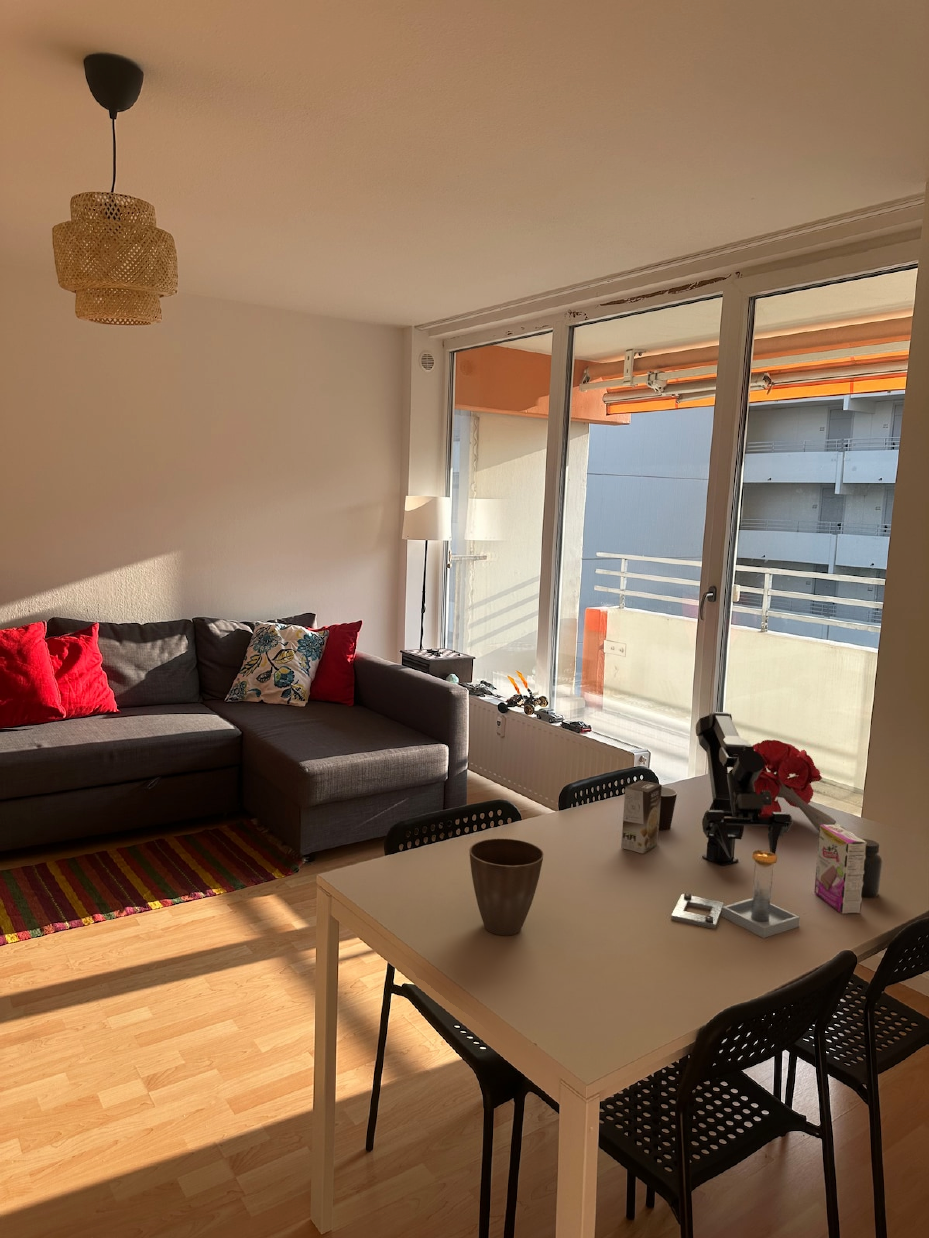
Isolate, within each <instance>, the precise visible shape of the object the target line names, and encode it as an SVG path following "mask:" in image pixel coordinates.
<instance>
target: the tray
mask: <svg viewBox="0 0 929 1238" xmlns="http://www.w3.org/2000/svg"><path fill="white" fill-rule="evenodd" d="M752 898H753V897H752ZM752 898H748V899H744V900H741V901H737V902H734V903H732V904H728V905H723V907H722V912H721V917H722V918H723V919H726V920H728V921H730V922H732V923H733V924H736V925H737V926H740V927H742V928H744V929H746V930H747V931H749V932H752V933H753V934H755V935H757V936H759V937H761V938H763V939H765V938H768V937H772V936H774V935H777V934H780V933H784V932H786V931H789V930H793V929H796V928H799V927H800V919H801V918H800V916H798V915H797V914H794V913H792V912H791V911H788V910H786V909H784V908H782V907H780V906H777V905H775V904H773V903H771V902H770V913H769V921H768V922H758V921H755V920H753V919H752V918H751V911H752Z"/></svg>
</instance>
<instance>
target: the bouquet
mask: <svg viewBox="0 0 929 1238" xmlns="http://www.w3.org/2000/svg"><path fill="white" fill-rule="evenodd" d="M752 746H753V748H754V750H755V751H756V752H758V753H759V754H760V755H761V756H762V757H763V759H764V761H765V765H764V767H763V769H762V771H761V773H760V775H759V776H758V778H757V780H756V781H755V782H754V787H755V792H756V793H757V794H760V792H761V791H770V793H771V797H772V805H770V806H764V809H762V813H761V814H759V817H770V816H771V814H772V812H782V807H781V805H780V803H779V799H776V798H782V799H784V800H785V802H786V803H787V804H788V805H789V806H790V807H791V806H792V807H794V808H799V810H800V811H801V812H802V813H803V814H804V816H806V818H807V819H808V821H809V822H810V823H811V824H812V825H813V826H814V828H815V829H816V830H817V831H818V832H819V830H820V825H823V824H826V825H827V824H836V823H837V820H835V819H834V818H833V817H832V816H831V815H829V814H827V813H825V812H824V811H822V810H820V809H818V808H817V807H814V806H812V805H810V804H809V803H811V800H812V799H813V797H814V789H813V787H812V783H814V782H815V783H816V782H820V781H821V780H823V777H822V776H821V773H822V772H821V771H820V769H819V768H817V767H816V765H815V763H814V760H813V758H812V757H811V756H810V755H809V754H807V751H806V750H805V749H802V750H799V749H798V748H797V747H796V746H794V745H792V744H790V743H788V742H783V741H780V740H776V739H764V740H762V741H761V742H757V743H755V744H753V745H752ZM791 775H794V776H791Z"/></svg>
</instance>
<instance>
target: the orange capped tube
mask: <svg viewBox="0 0 929 1238" xmlns="http://www.w3.org/2000/svg"><path fill="white" fill-rule="evenodd" d="M752 860H754V873H753V886H752V911H751V918H752V919H753V920H755V921H758V922H768V921H769V913H770V903H771V902H772V901H771V898H772V885H773V874H774V873H773V872H774V864H776V863H777V862H778V855H777V854H776V853H775V854H774V853H772V852H770V850H769V851H768V850H761V849H759V850H754V851H753V852H752Z"/></svg>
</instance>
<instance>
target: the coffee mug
mask: <svg viewBox="0 0 929 1238" xmlns="http://www.w3.org/2000/svg"><path fill="white" fill-rule="evenodd" d="M677 795H678V791H677V790H675V789H674V788H670V787H667V786H666V787H665V786H662V789H661V804H660V818H659V832H660V831H669V830H670V829H671V828H672V824H673V823H672V822H673V819H674V818H673V817H674V812H675V806H676V800H677Z"/></svg>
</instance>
